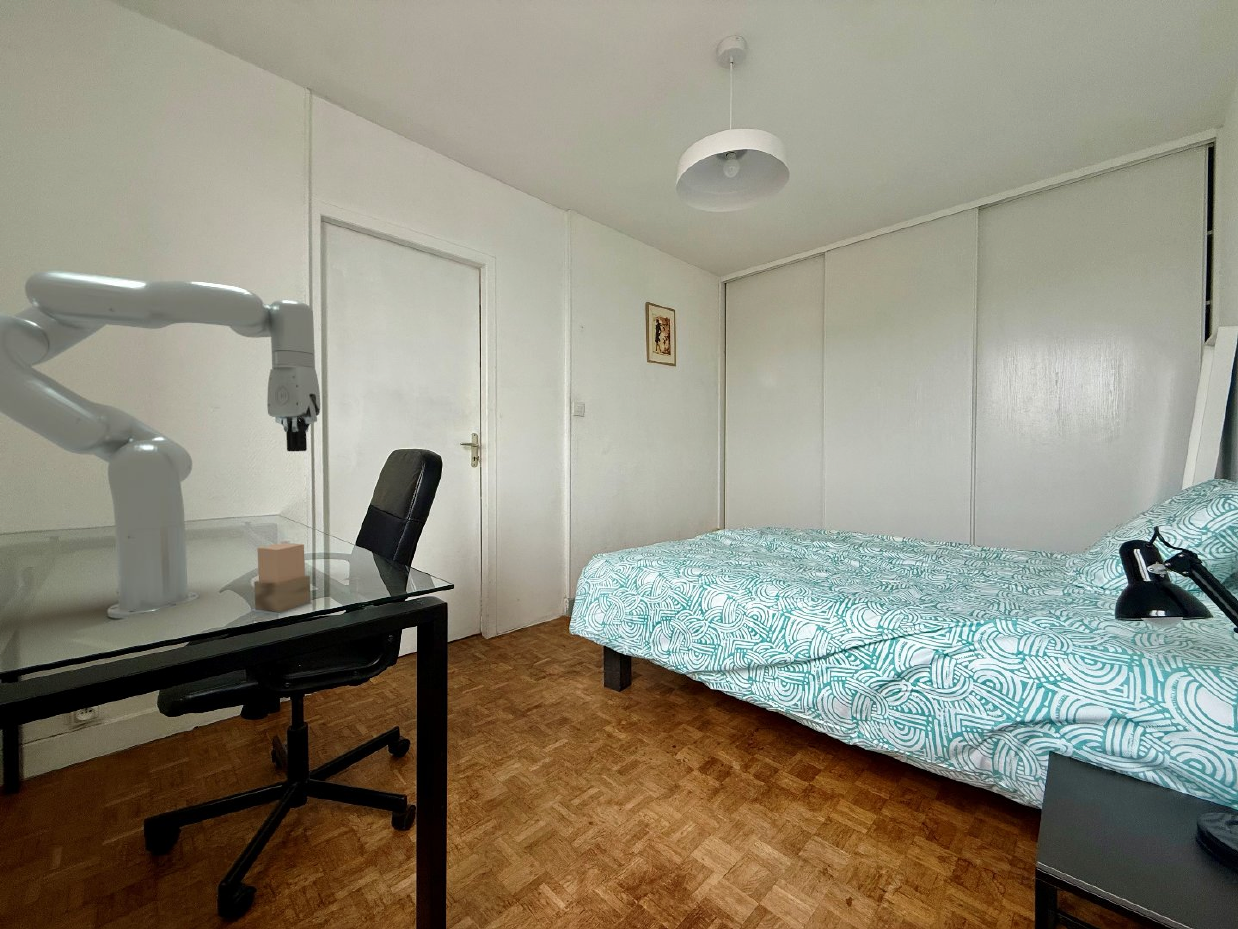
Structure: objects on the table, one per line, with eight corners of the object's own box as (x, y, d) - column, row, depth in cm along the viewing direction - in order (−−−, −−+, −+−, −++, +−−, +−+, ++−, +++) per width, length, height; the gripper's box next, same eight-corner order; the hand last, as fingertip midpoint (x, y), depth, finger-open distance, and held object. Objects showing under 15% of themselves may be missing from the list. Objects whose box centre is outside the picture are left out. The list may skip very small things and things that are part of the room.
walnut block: (255, 609, 89) (254, 581, 89) (287, 599, 95) (286, 573, 95) (279, 613, 87) (277, 584, 87) (310, 602, 93) (309, 576, 93)
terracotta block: (258, 581, 90) (257, 547, 89) (286, 574, 94) (284, 542, 94) (278, 583, 88) (277, 549, 87) (305, 576, 92) (303, 544, 92)
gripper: (250, 362, 103) (254, 451, 104) (302, 357, 98) (306, 451, 99) (285, 367, 110) (288, 450, 111) (336, 363, 105) (339, 450, 106)
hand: (297, 451), depth 105 cm, fingers closed
